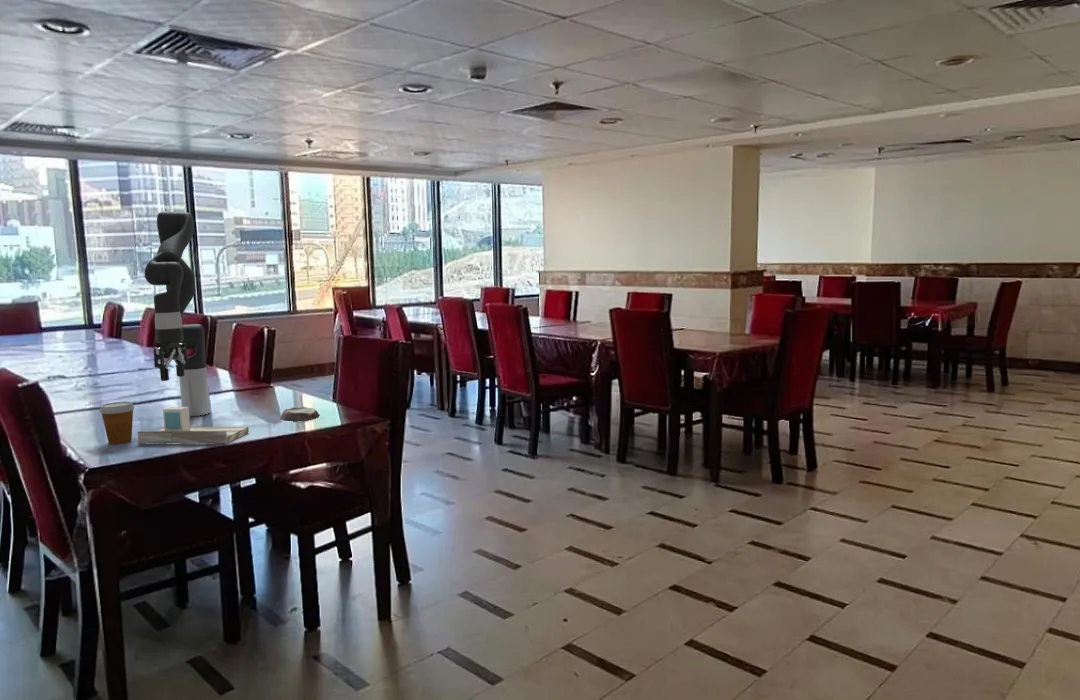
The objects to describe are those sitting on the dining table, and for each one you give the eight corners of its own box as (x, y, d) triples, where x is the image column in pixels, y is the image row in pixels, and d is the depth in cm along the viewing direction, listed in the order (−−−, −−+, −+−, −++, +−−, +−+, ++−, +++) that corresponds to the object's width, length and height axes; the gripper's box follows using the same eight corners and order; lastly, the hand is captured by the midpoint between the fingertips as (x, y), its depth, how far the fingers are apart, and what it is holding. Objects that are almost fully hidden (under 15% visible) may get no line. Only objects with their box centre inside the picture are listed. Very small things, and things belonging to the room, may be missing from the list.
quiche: (254, 424, 258) (253, 413, 258) (292, 413, 277) (292, 402, 276) (304, 428, 251) (303, 416, 250) (340, 416, 270) (339, 405, 269)
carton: (190, 431, 237) (188, 406, 236) (182, 434, 232) (180, 409, 231) (172, 431, 237) (170, 406, 236) (164, 434, 233) (162, 409, 232)
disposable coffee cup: (95, 445, 229) (92, 407, 227) (114, 438, 238) (111, 401, 237) (125, 445, 228) (122, 407, 227) (143, 438, 237) (140, 401, 236)
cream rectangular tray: (166, 433, 244) (165, 421, 244) (248, 432, 242) (247, 420, 241) (137, 444, 229) (136, 431, 228) (224, 444, 226) (223, 431, 226)
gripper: (166, 329, 223) (171, 382, 225) (193, 324, 237) (196, 374, 239) (143, 329, 224) (147, 382, 226) (170, 324, 238) (174, 375, 240)
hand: (173, 378), depth 233 cm, fingers open, 8 cm apart
